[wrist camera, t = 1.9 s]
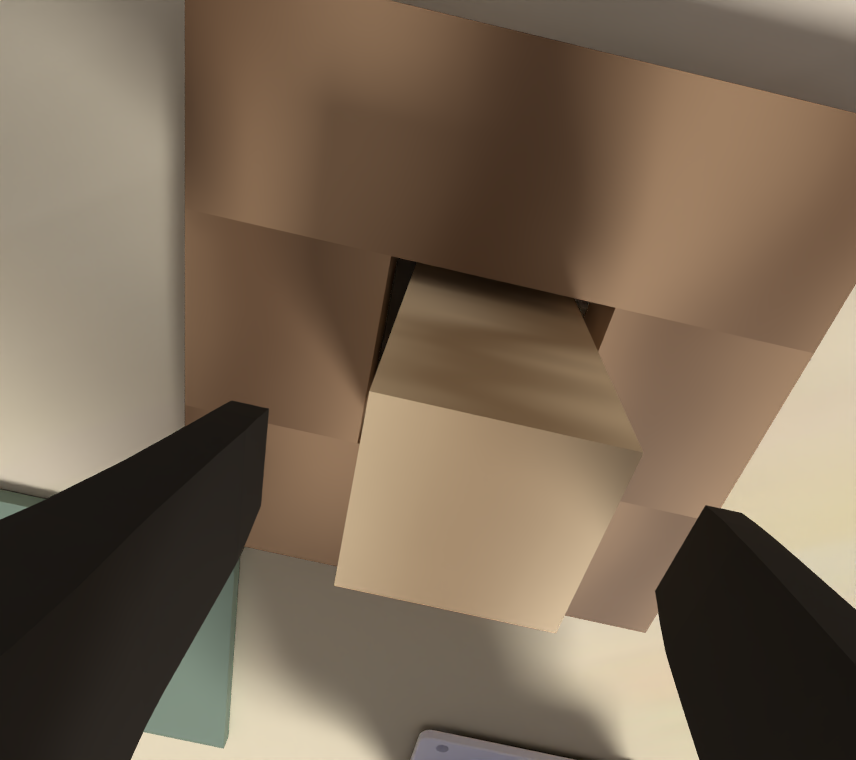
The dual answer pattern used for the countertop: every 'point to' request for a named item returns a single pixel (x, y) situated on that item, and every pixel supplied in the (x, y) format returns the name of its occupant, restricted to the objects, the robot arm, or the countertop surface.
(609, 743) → the countertop surface
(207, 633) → the rubber mat
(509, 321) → the maple block
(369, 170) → the pocket plate
